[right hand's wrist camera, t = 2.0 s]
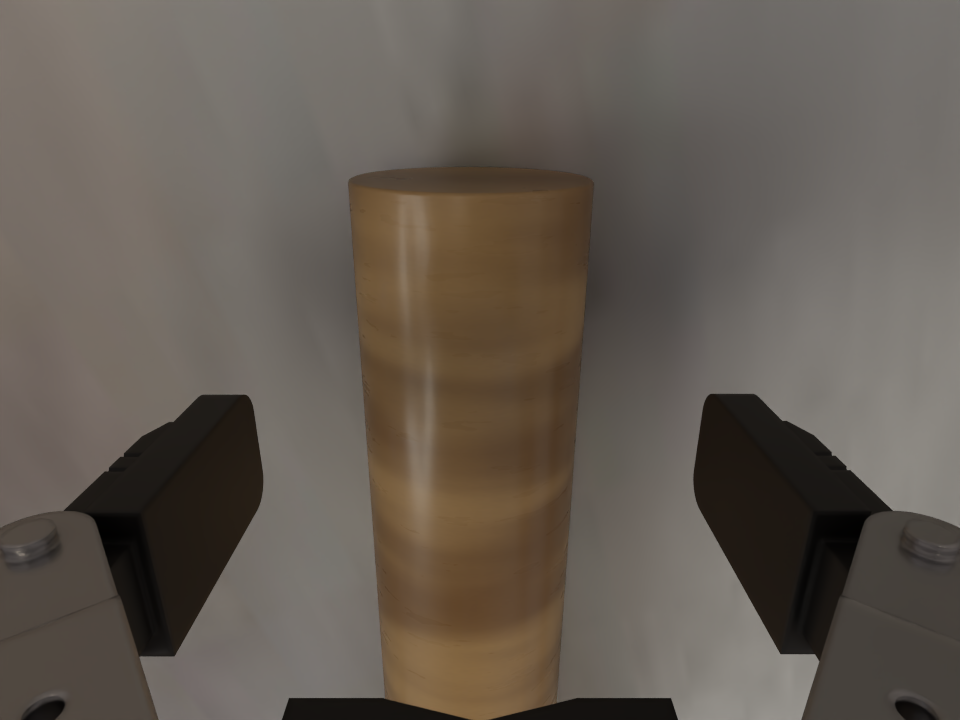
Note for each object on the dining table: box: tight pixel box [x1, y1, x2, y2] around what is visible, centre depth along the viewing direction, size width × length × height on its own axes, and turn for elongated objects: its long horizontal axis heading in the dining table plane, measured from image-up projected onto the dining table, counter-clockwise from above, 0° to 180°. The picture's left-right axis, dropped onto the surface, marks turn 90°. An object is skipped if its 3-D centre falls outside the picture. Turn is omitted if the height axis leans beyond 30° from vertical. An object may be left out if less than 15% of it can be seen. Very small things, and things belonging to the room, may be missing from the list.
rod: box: [348, 167, 594, 720], centre depth 20 cm, size 25×6×6 cm, turn 0°
